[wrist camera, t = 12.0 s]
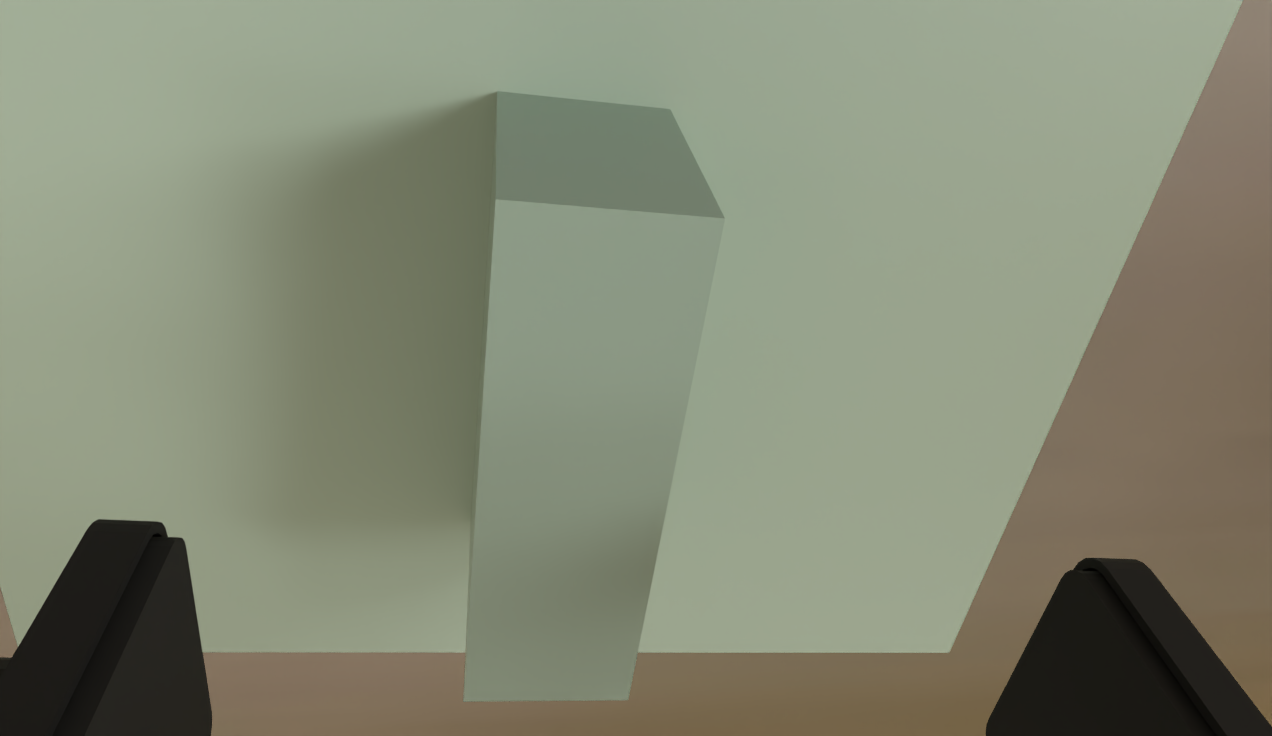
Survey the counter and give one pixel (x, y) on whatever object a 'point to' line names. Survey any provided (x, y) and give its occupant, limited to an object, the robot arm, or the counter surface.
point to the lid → (563, 308)
